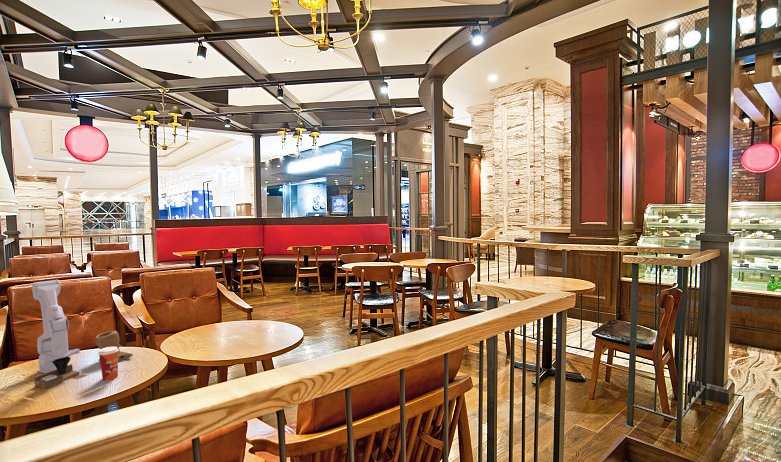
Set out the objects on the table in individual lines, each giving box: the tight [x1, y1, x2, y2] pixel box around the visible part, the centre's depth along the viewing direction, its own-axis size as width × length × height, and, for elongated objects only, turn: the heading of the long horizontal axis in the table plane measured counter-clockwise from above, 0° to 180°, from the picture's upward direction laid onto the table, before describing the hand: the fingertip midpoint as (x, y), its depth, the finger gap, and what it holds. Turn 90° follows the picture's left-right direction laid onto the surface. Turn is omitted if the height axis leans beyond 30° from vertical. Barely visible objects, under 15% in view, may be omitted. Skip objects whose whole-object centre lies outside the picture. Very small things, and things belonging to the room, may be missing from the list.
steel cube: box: [41, 374, 57, 382], centre depth 172 cm, size 4×4×4 cm
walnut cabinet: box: [33, 363, 88, 390], centre depth 176 cm, size 10×15×5 cm
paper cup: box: [97, 347, 120, 381], centre depth 178 cm, size 8×8×14 cm
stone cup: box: [94, 330, 134, 362], centre depth 200 cm, size 15×12×15 cm
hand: (62, 374), depth 177 cm, fingers closed
